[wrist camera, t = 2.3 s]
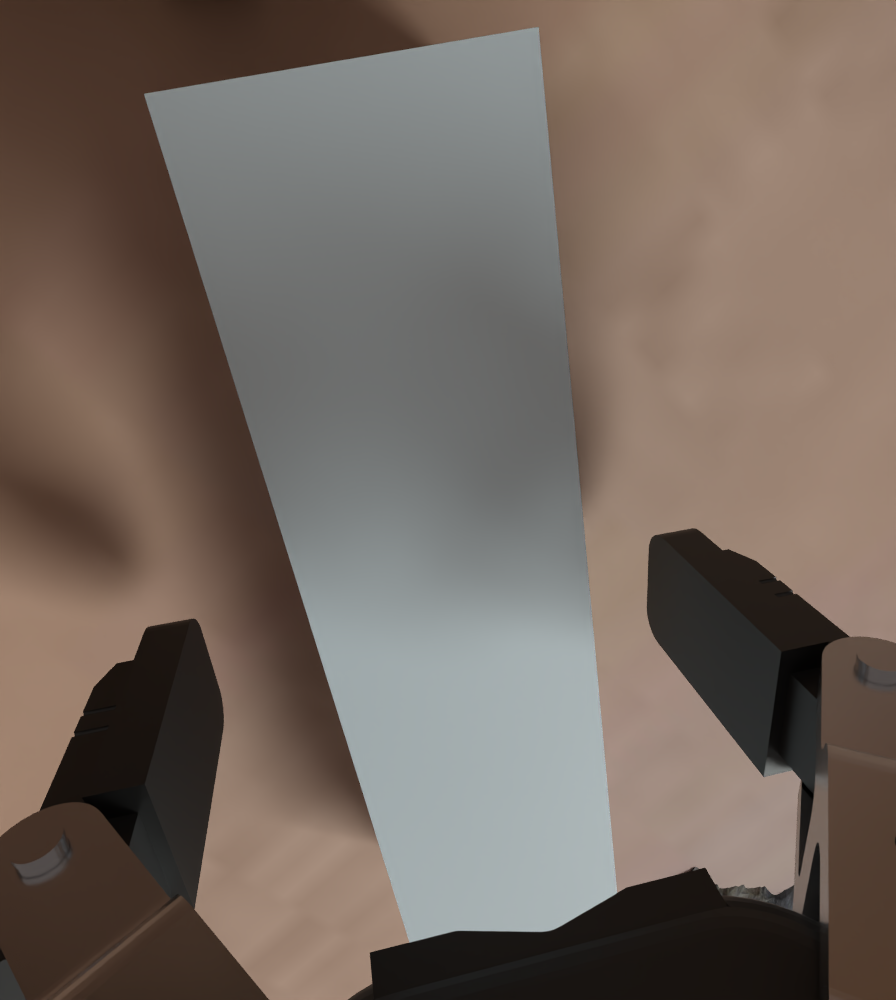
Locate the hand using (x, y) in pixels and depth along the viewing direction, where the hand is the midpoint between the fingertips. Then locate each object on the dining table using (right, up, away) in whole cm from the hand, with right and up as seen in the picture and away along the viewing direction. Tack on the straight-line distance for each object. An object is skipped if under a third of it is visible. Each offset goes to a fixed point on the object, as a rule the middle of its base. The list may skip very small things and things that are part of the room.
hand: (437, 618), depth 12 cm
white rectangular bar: (0, +1, +2) cm, 2 cm away
